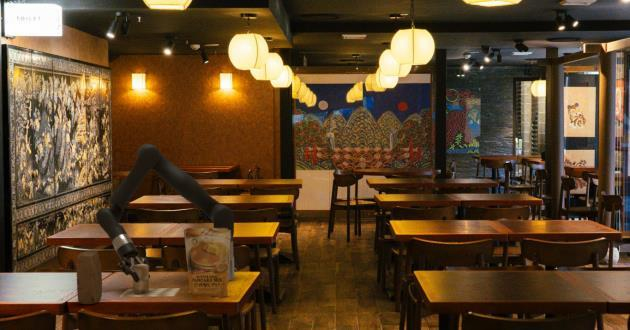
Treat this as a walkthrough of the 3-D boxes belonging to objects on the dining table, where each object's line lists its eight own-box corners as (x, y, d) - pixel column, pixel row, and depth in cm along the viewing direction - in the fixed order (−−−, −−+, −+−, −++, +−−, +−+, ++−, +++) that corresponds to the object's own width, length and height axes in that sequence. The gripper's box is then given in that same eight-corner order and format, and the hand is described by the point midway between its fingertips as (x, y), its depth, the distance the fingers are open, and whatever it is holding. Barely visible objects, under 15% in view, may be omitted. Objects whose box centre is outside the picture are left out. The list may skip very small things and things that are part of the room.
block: (93, 305, 297) (92, 254, 296) (75, 305, 298) (73, 254, 297) (105, 298, 308) (103, 249, 306) (87, 298, 309) (85, 249, 307)
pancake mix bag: (187, 294, 313) (185, 226, 311) (233, 294, 312) (231, 226, 310) (183, 298, 307) (181, 229, 305) (230, 298, 305) (228, 229, 303)
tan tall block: (142, 289, 314) (141, 263, 313) (149, 291, 311) (148, 265, 310) (133, 292, 310) (132, 265, 309) (139, 293, 307) (139, 266, 306)
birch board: (180, 291, 318) (180, 288, 318) (174, 299, 304) (173, 296, 304) (128, 292, 318) (128, 288, 318) (119, 300, 304) (119, 296, 304)
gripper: (113, 244, 309) (132, 277, 302) (142, 239, 319) (161, 271, 312) (106, 255, 312) (124, 288, 305) (135, 250, 323) (153, 282, 316)
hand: (143, 280), depth 309 cm, fingers closed on tan tall block, 4 cm apart
